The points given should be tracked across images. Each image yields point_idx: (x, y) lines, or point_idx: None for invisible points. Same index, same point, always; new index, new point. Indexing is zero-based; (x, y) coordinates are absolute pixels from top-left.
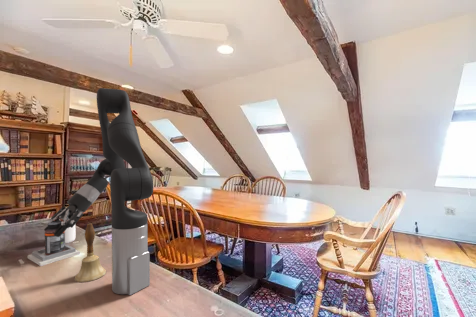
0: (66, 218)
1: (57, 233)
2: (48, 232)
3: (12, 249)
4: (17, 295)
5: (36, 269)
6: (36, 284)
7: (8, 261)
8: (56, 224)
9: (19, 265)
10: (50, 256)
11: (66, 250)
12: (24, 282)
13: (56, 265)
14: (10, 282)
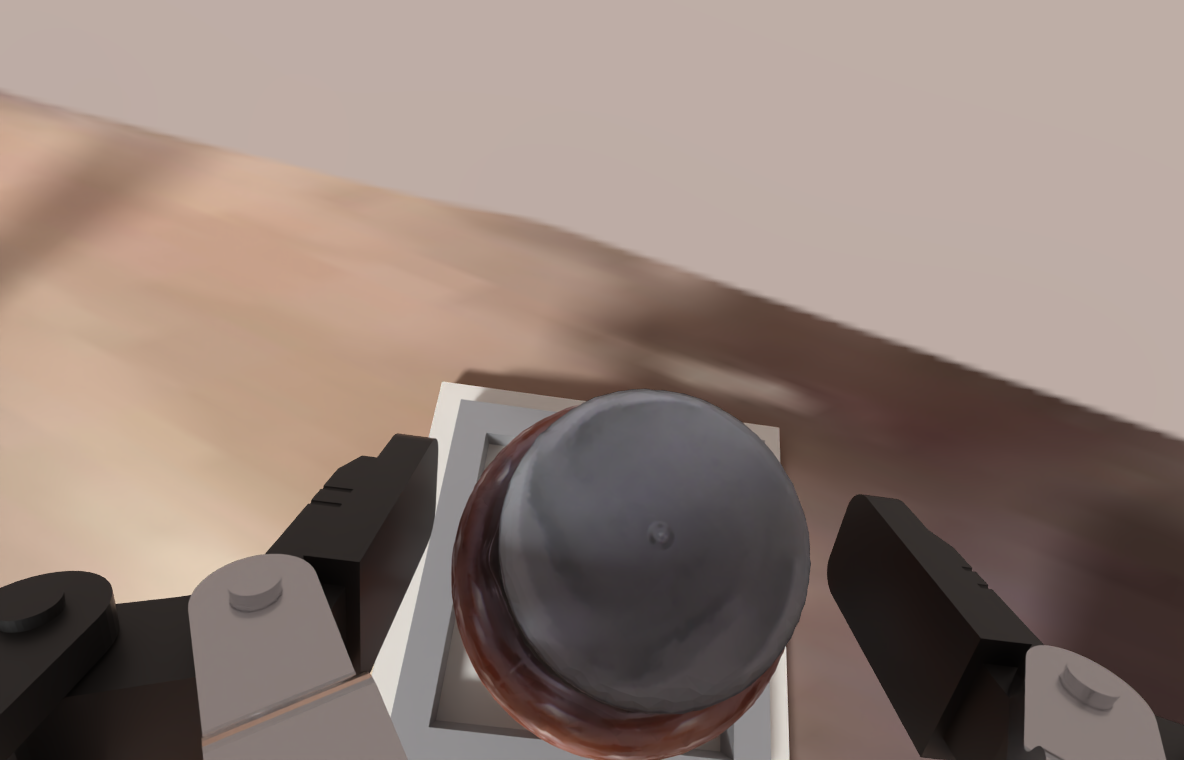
0: (207, 749)
1: (354, 470)
2: (562, 412)
3: (1171, 485)
4: (119, 128)
5: (409, 348)
6: (132, 227)
7: (820, 337)
8: (507, 505)
9: (639, 333)
10: (446, 465)
11: (430, 652)
12: (259, 214)
13: (312, 463)
14: (361, 185)
